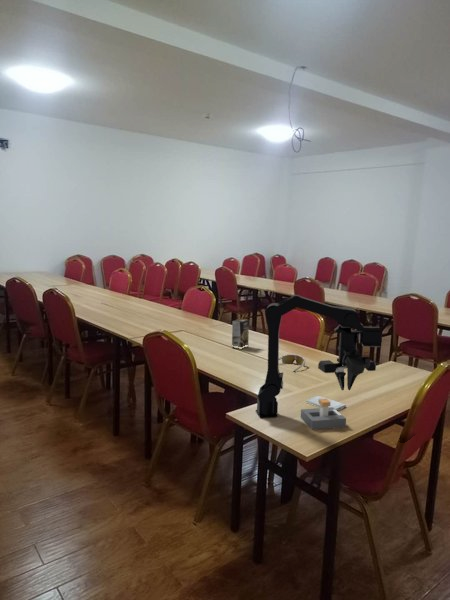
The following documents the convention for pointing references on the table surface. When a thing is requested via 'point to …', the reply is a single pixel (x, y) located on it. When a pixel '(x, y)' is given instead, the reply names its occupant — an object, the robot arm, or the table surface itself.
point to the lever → (324, 406)
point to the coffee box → (240, 332)
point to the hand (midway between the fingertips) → (345, 389)
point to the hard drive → (332, 403)
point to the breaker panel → (323, 418)
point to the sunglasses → (293, 359)
